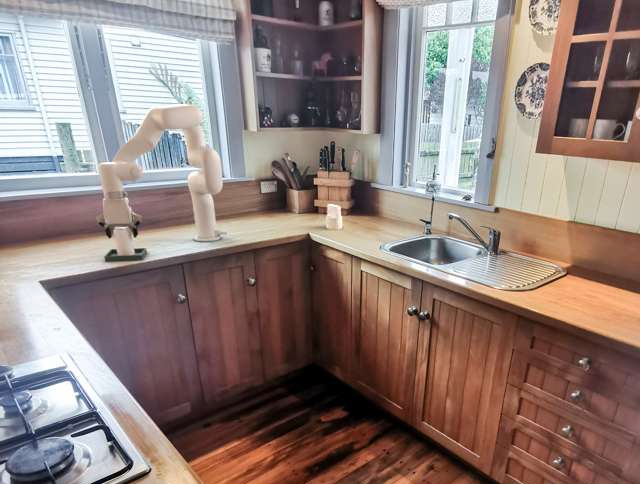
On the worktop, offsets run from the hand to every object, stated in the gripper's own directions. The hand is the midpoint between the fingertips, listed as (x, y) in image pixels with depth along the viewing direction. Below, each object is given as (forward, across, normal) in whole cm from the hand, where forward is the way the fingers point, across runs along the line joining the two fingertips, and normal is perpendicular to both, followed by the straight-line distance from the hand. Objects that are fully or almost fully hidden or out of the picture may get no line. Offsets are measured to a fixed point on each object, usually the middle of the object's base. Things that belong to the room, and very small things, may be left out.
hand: (123, 237), depth 194 cm
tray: (+8, 0, 0) cm, 8 cm away
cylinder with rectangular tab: (+9, -97, -43) cm, 106 cm away
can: (+8, 0, 0) cm, 8 cm away
